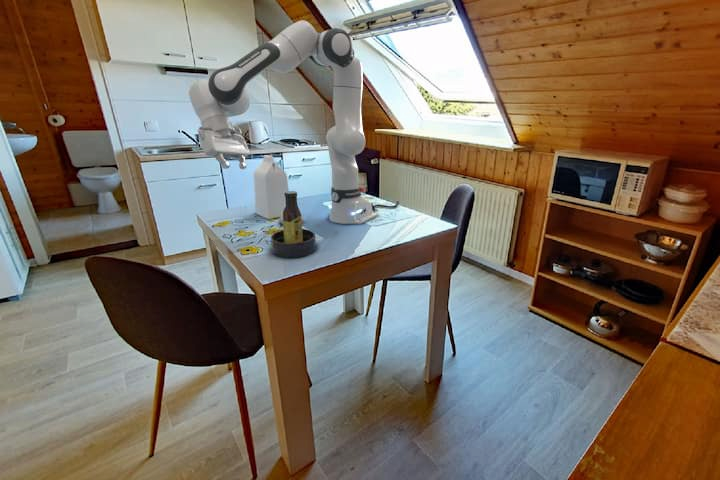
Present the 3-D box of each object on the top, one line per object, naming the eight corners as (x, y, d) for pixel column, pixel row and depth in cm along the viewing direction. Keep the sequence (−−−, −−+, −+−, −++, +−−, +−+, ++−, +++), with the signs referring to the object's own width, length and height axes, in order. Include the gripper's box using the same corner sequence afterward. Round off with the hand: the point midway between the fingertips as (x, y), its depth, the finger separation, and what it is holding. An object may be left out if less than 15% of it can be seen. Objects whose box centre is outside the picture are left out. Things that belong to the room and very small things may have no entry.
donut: (304, 219, 151) (281, 219, 150) (304, 212, 150) (280, 211, 149) (302, 227, 142) (278, 227, 141) (302, 219, 140) (277, 219, 140)
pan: (298, 238, 129) (298, 225, 128) (324, 249, 120) (323, 235, 118) (263, 249, 119) (262, 235, 118) (288, 262, 110) (287, 247, 108)
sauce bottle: (299, 252, 116) (295, 195, 109) (281, 251, 117) (277, 194, 110) (306, 245, 122) (302, 190, 115) (289, 244, 123) (285, 189, 116)
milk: (255, 213, 159) (249, 155, 149) (278, 208, 166) (273, 153, 156) (268, 219, 150) (262, 158, 141) (291, 214, 158) (287, 156, 148)
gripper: (203, 121, 105) (222, 163, 106) (243, 129, 124) (259, 165, 125) (188, 130, 107) (207, 171, 108) (230, 137, 126) (245, 172, 127)
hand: (235, 168), depth 117 cm, fingers open, 8 cm apart
